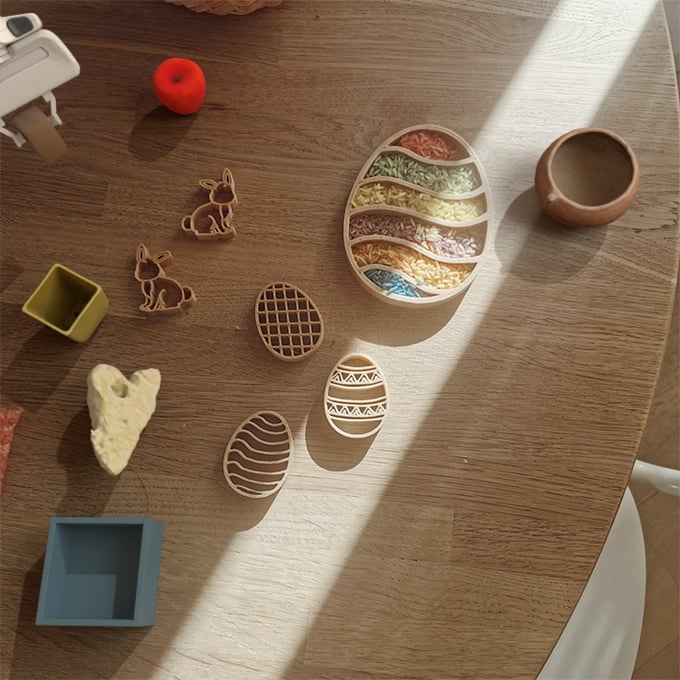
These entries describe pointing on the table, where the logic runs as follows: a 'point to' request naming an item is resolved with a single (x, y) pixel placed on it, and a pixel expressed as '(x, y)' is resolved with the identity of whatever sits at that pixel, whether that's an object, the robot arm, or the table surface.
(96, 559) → the tub
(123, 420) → the cheese
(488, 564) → the table surface
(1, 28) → the robot arm
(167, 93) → the apple
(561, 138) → the bowl
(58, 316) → the flower pot
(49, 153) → the wooden block
